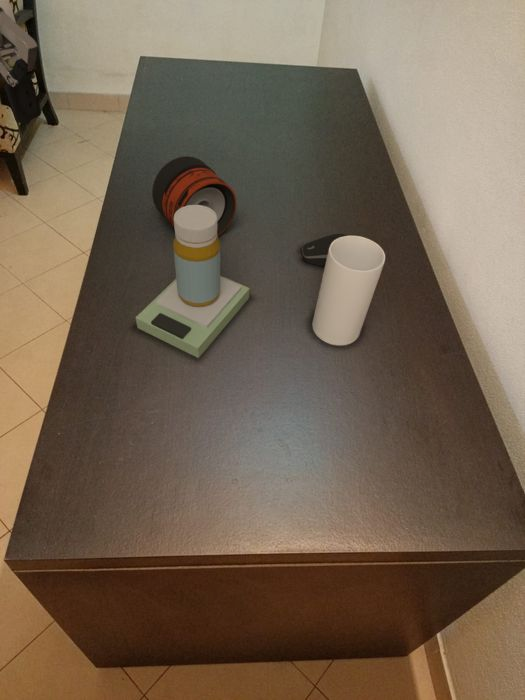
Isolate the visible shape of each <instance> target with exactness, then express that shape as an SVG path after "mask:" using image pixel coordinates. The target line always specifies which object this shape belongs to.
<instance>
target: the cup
mask: <svg viewBox="0 0 525 700" xmlns="http://www.w3.org/2000/svg"><path fill="white" fill-rule="evenodd" d="M385 260H386V252H385V251H384V249H383V248H382V247H381V246H380V245H379V244H378V243H377V242H375V241H374V240H372V239H369V238H368V237H363V236H359V235H349V236H343V237H340V238H337V239H336V240H334V241H333V242H332V243H331V245H330V247H329V251H328V255H327V260H326V264H325V266H324V269H323V273H322V279H321V281H320V286H319V291H318V295H317V300H316V306H315V309H314V314H313V318H312V323H311V325H312V330H313V332H314V334H315V336H316V337H317V338H318V339H319V340H321V341H322V342H324V343H327V344H329V345H333V346H348V345H350V344H353V343H354V342H355V341H357V339H359V337H360V334H361V332H362V329H363V326H364V322H365V319H366V317H367V314H368V311H369V309H370V305H371V302H372V299H373V298H374V297H373V296H374V293H375V291H376V288H377V286H378V282H379V279H380V277H381V274H382V271H383V268H384V266H385V262H386V261H385Z"/></svg>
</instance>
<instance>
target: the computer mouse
mask: <svg viewBox="0 0 525 700" xmlns="http://www.w3.org/2000/svg"><path fill="white" fill-rule="evenodd" d="M343 236H350V235H348V234H344V233H333V234H330V235H326V236H322V237H320V238H317V239H314V240H312V241H309V242H307V243H305V244H303V246H302V249H301V257H302V259H303V260H304V262H305V263H307V264H310V265H314V266H319V267H325V264H326V260H327V255H328V251H329V247H330V245H331V243H332V242H333V241H334V240H336V239H337V238H340V237H343Z"/></svg>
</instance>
